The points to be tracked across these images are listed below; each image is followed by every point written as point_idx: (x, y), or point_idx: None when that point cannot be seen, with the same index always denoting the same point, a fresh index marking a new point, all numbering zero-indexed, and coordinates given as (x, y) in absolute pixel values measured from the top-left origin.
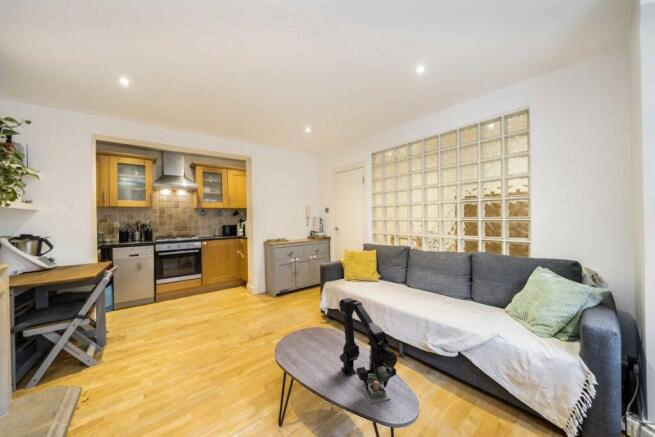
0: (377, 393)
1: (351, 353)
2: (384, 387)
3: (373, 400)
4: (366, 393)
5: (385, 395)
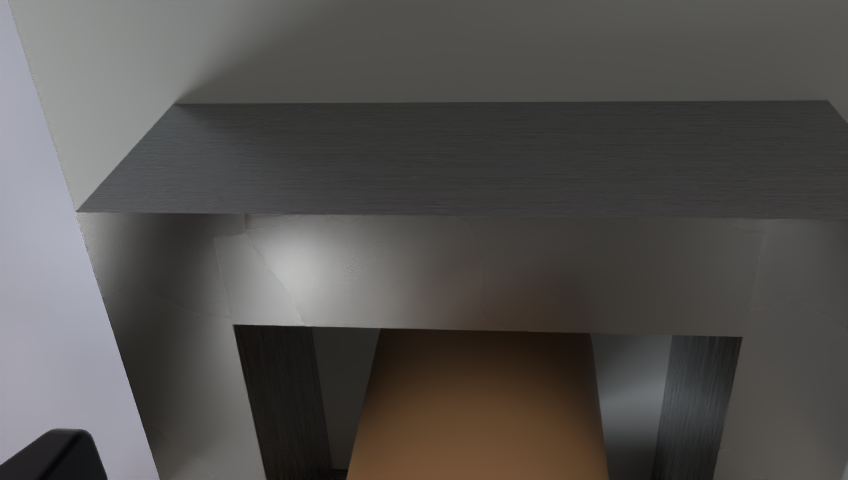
0: (582, 210)
1: None
2: (90, 449)
3: (817, 20)
4: None
5: (170, 129)
